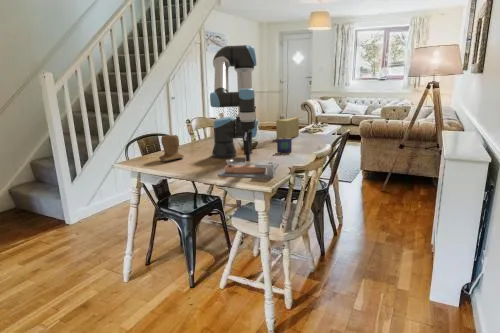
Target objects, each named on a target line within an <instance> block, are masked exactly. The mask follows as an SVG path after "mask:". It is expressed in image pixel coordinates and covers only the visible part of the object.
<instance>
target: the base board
mask: <svg viewBox="0 0 500 333" xmlns="http://www.w3.org/2000/svg"><path fill="white" fill-rule="evenodd" d="M232 163H233V165H245V161H234V162H232ZM256 163H257V162H252V161H251V165H255V164H256ZM279 166H280V164H279V163H275V170H277V168H278V167H279ZM217 176H218V177H233V178H252V179H265V180H267V179H270V178H271V177H270V176H267V168H266V173H226V172H225V168H224V169H222V170H221V171H220V172H219V173H217Z"/></svg>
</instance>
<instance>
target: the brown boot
mask: <svg viewBox="0 0 500 333" xmlns="http://www.w3.org/2000/svg"><path fill="white" fill-rule="evenodd" d="M160 139H161V145H162V147H163V151H164V154H163V155H161V156H159V157H158V158H159V160H160V161H161V162H164V163H166V162H170V161H174V160H177V159H182V158H184V157H185V155H183V154H181V153H179V148H180V146H179V145H180V138H179V136H178V135H177V134H175V135H174V134H173V135H172V134H170V135H169V134H168V135H166V134H165V135H162V136H161V138H160Z"/></svg>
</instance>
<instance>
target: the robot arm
mask: <svg viewBox="0 0 500 333" xmlns="http://www.w3.org/2000/svg"><path fill="white" fill-rule="evenodd" d="M255 50H256V49H255V47H254V46H253V45H248V44H245V45H243V44H242V45H225V46H224V47H223V46H222V47H221V48H220V49H219V50H217V52H216V53H215V55H214V56H213V59H212V65H213V68H214V86H213V87H214V90H213V92H211V93H209V101H210V102H209V103H210V106H211V108H236V107H237V109H238V110H237V111H238V113H237V114H236V115H235V118H234V119H233V117H232V116H226V117H221V118H217V119H215V120H214V121H213V127H212V128H213V139H214V140H213V141H214V142H213V143H214V144H213V148H212V152H211V154H212V155H211V156H212V157H213V158H215V159H230V158H231V159H232V158H234V157H236V156H237V155H238V153H237V152H238V151H237V149H236V147H235V143H234V139H242V144H243V155H245V156H244V158H245V159H244V160H245V161H244V162H245V165H251V162H252V155H253V152H252V151H253V148H252V147H253V138H255V137H256V136H257V132H258V118H256V111H255V108H256V107H255V106H256V104H255V102H256V101H255V96H256V94H255V90H254V88H253V81H252V80H253V76H252V73H253V71H254V70H255V67H257V55H256V51H255ZM230 67H231V68H232V67H234V69H233V70H234V71H235V72H236V77H237V81H236V82H237V91H229V87H230V86H229V68H230Z"/></svg>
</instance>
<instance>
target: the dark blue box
mask: <svg viewBox="0 0 500 333" xmlns="http://www.w3.org/2000/svg"><path fill="white" fill-rule="evenodd" d="M292 141H293V138H286V136H284V137H283V138H278V139H277V138H276V146H277V147H276V148H277V149H276V152H277V154H283V153H284V154H287V153H289V154H290V153H292V152H293V150H292V149H293V148H292V144H293V142H292Z"/></svg>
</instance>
